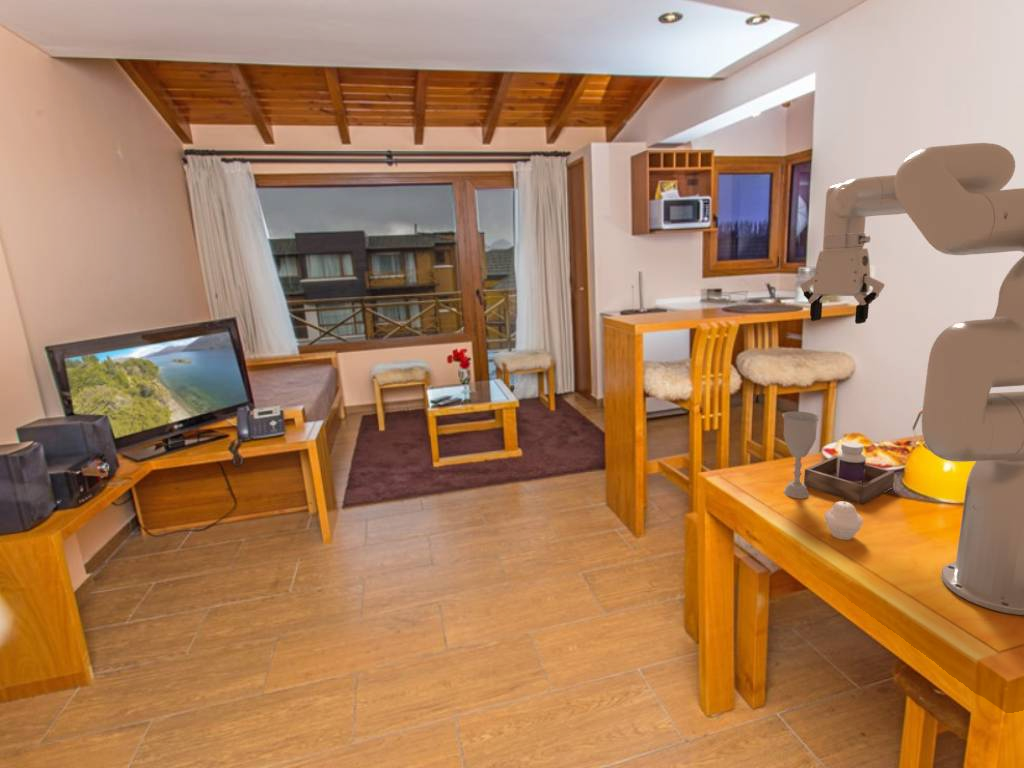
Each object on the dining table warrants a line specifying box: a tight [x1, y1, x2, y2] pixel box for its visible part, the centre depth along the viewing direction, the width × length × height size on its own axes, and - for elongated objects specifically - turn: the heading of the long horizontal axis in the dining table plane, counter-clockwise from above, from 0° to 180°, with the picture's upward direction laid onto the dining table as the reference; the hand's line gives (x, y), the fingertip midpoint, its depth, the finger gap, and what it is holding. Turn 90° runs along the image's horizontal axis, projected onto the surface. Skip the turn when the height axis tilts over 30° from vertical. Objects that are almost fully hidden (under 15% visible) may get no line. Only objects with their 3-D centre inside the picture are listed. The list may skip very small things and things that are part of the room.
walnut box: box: [803, 455, 896, 506], centre depth 119 cm, size 13×13×4 cm
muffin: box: [824, 500, 864, 541], centre depth 100 cm, size 6×6×7 cm
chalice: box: [781, 411, 821, 499], centre depth 116 cm, size 7×7×18 cm
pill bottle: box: [836, 441, 867, 485], centre depth 118 cm, size 5×5×10 cm
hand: (837, 321), depth 120 cm, fingers open, 9 cm apart
